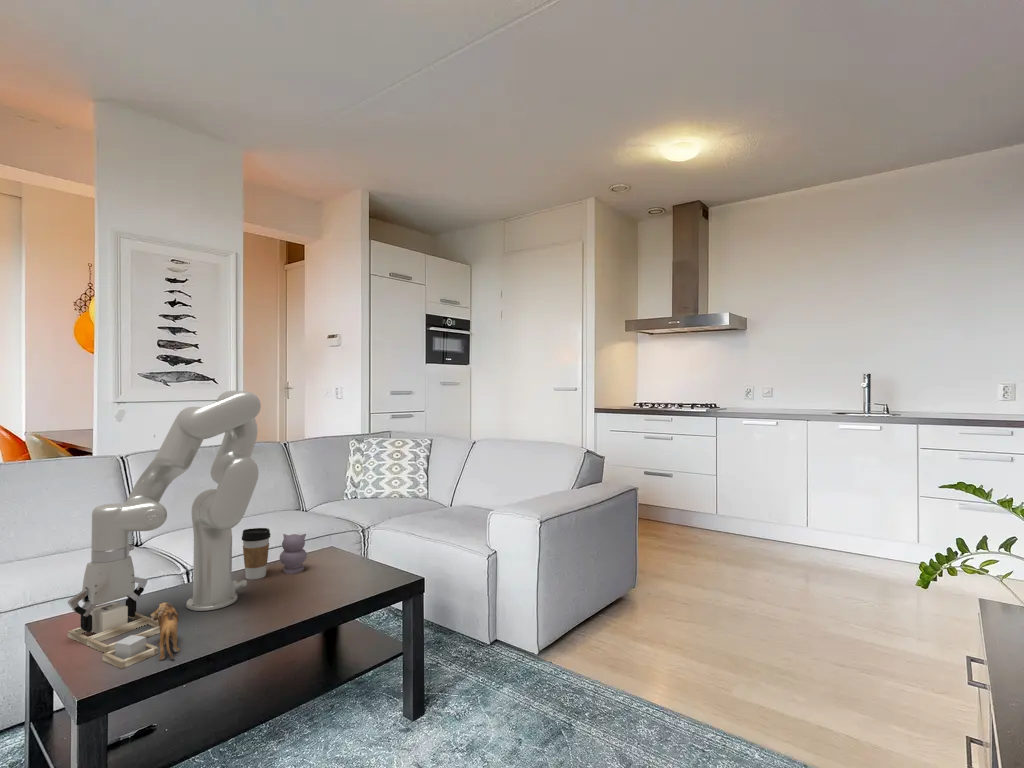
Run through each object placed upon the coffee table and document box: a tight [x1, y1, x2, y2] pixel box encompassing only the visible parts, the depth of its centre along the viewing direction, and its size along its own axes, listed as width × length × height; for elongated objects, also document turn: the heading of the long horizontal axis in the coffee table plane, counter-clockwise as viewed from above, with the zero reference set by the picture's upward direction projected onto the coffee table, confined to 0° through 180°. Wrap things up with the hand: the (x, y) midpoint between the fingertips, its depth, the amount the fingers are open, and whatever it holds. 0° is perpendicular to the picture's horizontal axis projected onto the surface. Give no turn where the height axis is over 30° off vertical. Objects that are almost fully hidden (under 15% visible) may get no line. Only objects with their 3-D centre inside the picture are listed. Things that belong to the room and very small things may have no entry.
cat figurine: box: [279, 533, 308, 575], centre depth 182 cm, size 9×8×12 cm
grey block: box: [114, 634, 147, 660], centre depth 123 cm, size 4×4×4 cm
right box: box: [67, 611, 150, 646], centre depth 137 cm, size 14×8×1 cm, turn 152°
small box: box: [102, 642, 159, 670], centre depth 123 cm, size 8×8×1 cm
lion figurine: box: [149, 602, 181, 661], centre depth 127 cm, size 15×5×9 cm, turn 42°
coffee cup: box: [241, 527, 271, 580], centre depth 176 cm, size 8×8×15 cm
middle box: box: [85, 616, 160, 654], centre depth 133 cm, size 14×8×1 cm, turn 152°
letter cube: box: [90, 601, 129, 634], centre depth 137 cm, size 6×6×6 cm
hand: (109, 623), depth 137 cm, fingers open, 9 cm apart
